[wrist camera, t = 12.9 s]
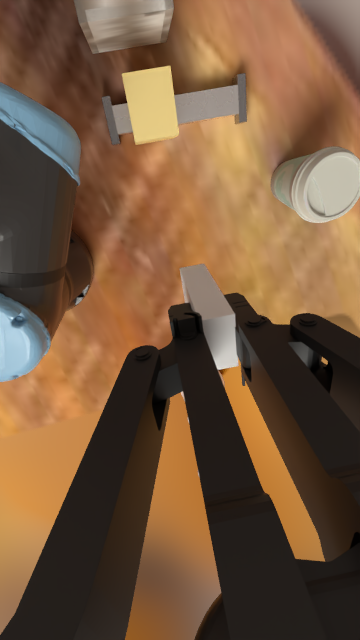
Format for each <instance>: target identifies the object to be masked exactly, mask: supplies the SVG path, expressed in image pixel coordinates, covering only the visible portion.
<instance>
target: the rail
mask: <svg viewBox="0 0 360 640" xmlns="http://www.w3.org/2000/svg"><path fill="white" fill-rule="evenodd" d="M174 98H175V106H176V114H177V122H178V125H183V124H188V123H194V122H200V121H206V120H212V119H218V118H223V117H229V116H235V124H240V123H244V122H247V114H246V80H245V73H243V74H237V75H236V76H235V77H234V78H233V86H227V87H221V88H215V89H209V90H203V91H197V92H191V93H185V94H179V95H174ZM102 102H103V106H104V110H105V115H106V119H107V123H108V128H109V132H110V137H111V141H112V145H118V144H121V143H120V138H119V135H124V134H130V133H133V129H132V124H131V119H130V114H129V109H128V103H125V104H119V105H114V106H112V101H111V98H110V96H105V97H102Z"/></svg>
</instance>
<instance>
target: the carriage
mask: <svg viewBox="0 0 360 640" xmlns="http://www.w3.org/2000/svg"><path fill="white" fill-rule="evenodd" d="M122 78H123V83H124V88H125V93H126V98H127V103H128V109H129V114H130V119H131V124H132V129H133V134H134V139H135V144H136V145H139V144H144V143H150V142H156V141H162V140H168V139H173V138H175V137H177V136H178V135H179V129H178V122H177V114H176V106H175V98H174V90H173V83H172V75H171V67H170V66H164V67H158V68H152V69H146V70H140V71H134V72H128V73H122Z"/></svg>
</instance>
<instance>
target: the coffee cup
mask: <svg viewBox="0 0 360 640" xmlns="http://www.w3.org/2000/svg"><path fill="white" fill-rule="evenodd" d="M271 190H272V193H273V195H274V196H275V197H276V198H277V199H278V200H280V201H281V202H283V203H284V204H286V205H287V206H289V207H290V208H292V209H293V210H295V211H296V212H297V213H298V215H299V216H300V217H301V218H303V219H304V220H306V221H309V222H314V223H323V222H328V221H331V220H334V219H337V218H339V217H341V216H343V215H344V214H345V213H347V212H348V211H349V210H350V209H351V208H352V207H353V206H354V205H355V203H356V202H357V200H358V198H359V197H360V160H359V159H358V158H357V157H356V156H355V155H354V154H353V153H352V152H350V151H349V150H347V149H344V148H341V147H326V148H323V149H321V150H319V151H317V152H315V153H313V154H310V155H306V156H302V157H298V158H295V159H291V160H288V161H285V162H283V163H282V164H280V165H279V166H278V167H277V169H276V170H275V171H274V173H273V176H272V179H271Z"/></svg>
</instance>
